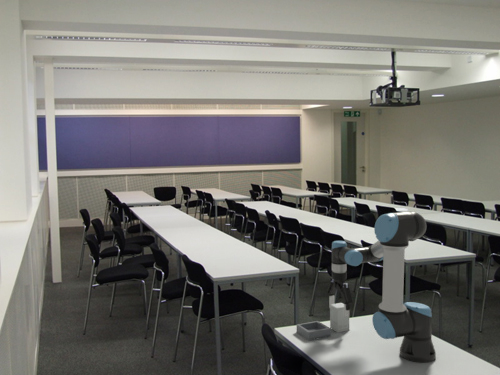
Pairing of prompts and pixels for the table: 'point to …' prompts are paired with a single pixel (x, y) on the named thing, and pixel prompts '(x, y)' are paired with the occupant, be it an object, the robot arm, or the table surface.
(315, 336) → the box
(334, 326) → the supplement box
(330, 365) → the table surface
